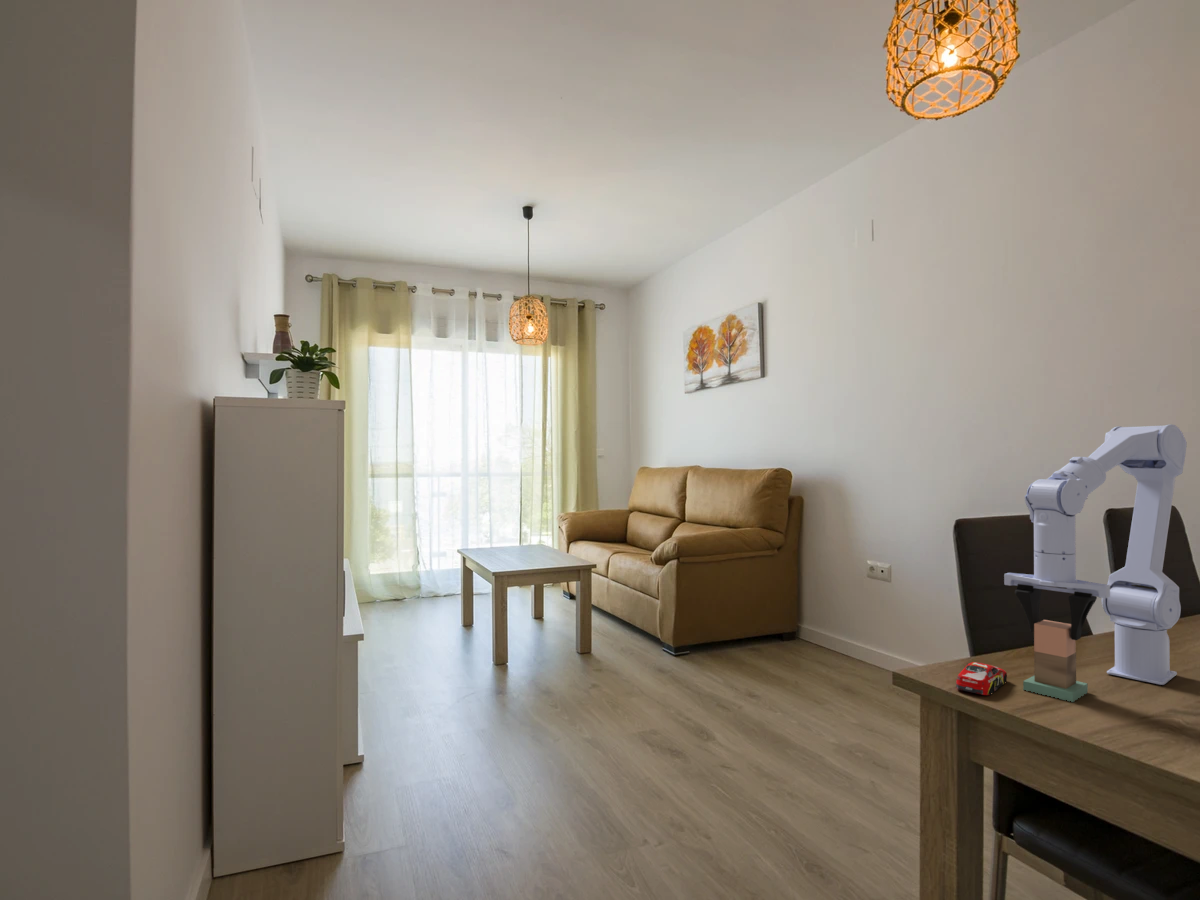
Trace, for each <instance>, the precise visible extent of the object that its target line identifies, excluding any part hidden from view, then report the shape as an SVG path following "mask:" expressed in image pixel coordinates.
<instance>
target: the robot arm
mask: <svg viewBox="0 0 1200 900" xmlns="http://www.w3.org/2000/svg"><path fill="white" fill-rule="evenodd" d="M1187 445H1188V443H1187V440H1186V438H1185V436H1184V433H1183V432H1182V430H1181V429H1180V427H1178V426H1177V425H1176V424H1172V423H1170V424H1166V425H1148V426H1147V425H1145V426H1143V425H1142V426H1119V425H1117V426H1115V427H1112V428H1111V429H1110V430H1109V431H1106V432H1105V435H1104V442H1103V443H1102V444H1101V445H1100V446H1098V447H1097V448H1096V449H1095V450H1093V452H1092V453H1091V454H1089V456H1072V457H1071V458H1070V459H1069V460H1068V461H1069V462H1068V463H1067V464H1065V465H1063V466H1062V467H1060V469H1058V470H1055V471H1054V472H1053V473H1052V474H1051V475H1050V476H1048V478H1045V479H1044V478H1043V479H1042V478H1039V479H1036V480H1035V481H1034V482H1031V483H1030V484H1029V486H1028V488H1027V490H1026V495H1024V502H1025V506H1026V508H1027V509H1028V510H1029V520H1031V521H1030V522H1031V523H1033V574H1030V573H1029V574H1026V573H1017V572H1007V573H1004V575H1003V577H1004V578H1003V579H1004V580H1003V582H1004V584H1003V585H1005V586H1009V587H1010V586H1016V589H1015V590H1014V594H1015V596H1016V598H1017V600H1018V601H1019V603H1020V604H1021V606H1022V609H1023V611H1024V614H1025V616H1026V619H1027V622H1028V626H1029V631H1030V633H1033V634H1034V624H1035V623H1037V622H1040V621H1041V619H1040V618H1041V616H1040V615H1041V614H1040V608H1041V607H1040V605H1041V596H1042V590H1045V591H1046V590H1047V591H1053V592H1061V593H1069V594H1072V595H1069V596H1068V603H1069V609H1070V617H1071V619H1070V620H1071V621H1070V624H1071V639H1072V640H1076V641H1078V640H1081V638H1082V631H1083V628H1084V624H1085V622H1086V619H1087V617H1088V615H1089V613H1090V611H1091V609H1092V607H1094V604H1095V602H1096V600H1097V599H1099V598H1101V606H1102V609H1103V611H1104V613H1105V614H1106V616H1108V617H1109V621H1110V622H1112V623H1114V666H1113V667H1111V668H1110V669H1108V670H1106V673H1107V674H1108V675H1113V676H1116V677H1121V678H1125V679H1131V680H1135V681H1140V682H1146V683H1151V684H1154V685H1155V684H1156V685H1159V686H1161V685H1162V686H1164V685H1166V684H1167V683H1168V682H1169V681H1170V680H1172V679H1173V678H1174V677H1175V676H1176V675H1178V673H1177V671H1174V670H1171V669H1170V663H1171V662H1170V660H1171V659H1170V637H1169V635H1168V630H1169V629H1172V627H1173V626H1175V625H1176V624H1177V622H1178V621H1179V619H1180V617H1181V609H1182V606H1181V602H1180V587H1179V585H1177V584H1176V582H1174V580H1172V579H1171V578H1169V576H1167V575H1166V574H1165V573H1164V572H1163V569H1164V568H1163V567H1164V561H1165V555H1166V553H1165V552H1166V548H1167V539H1168V532H1169V526H1170V518H1171V511H1172V505H1173V500H1174V491H1175V484H1176V477H1179V476H1180V475H1182V474H1183V471H1184V466H1185V461H1186V452H1187V447H1188V446H1187ZM1117 466H1118V467H1120V468H1121V470H1122V471H1124V473H1126V474H1128V475H1130V476H1132V477H1134V478H1135V480H1136V481H1137V484H1136V492H1135V497H1134V505H1133V511H1132V520H1131V525H1130V532H1129V538H1128V539H1129V540H1128V544H1127V545H1128V547H1127V550H1126V551H1127V552H1126V559H1125V565H1124V567H1123V566H1122V568H1120V569H1118V570H1116V571H1113V572H1112V573H1110V574H1109V575H1108V580H1107V584H1105V583H1099V582H1093V581H1087V580H1081V579H1077V571H1076V570H1077V565H1076V564H1077V562H1076V561H1077V558H1076V557H1077V552H1076V551H1077V550H1076V549H1077V548H1076V547H1077V546H1076V545H1077V542H1076V539H1077V538H1076V536H1077V535H1076V534H1077V533H1076V515H1077V514H1080V513H1081V512H1082V511H1083V509H1084V506H1085V502H1086V500H1088V497H1089V495H1090V494H1092V493H1093V492H1094V491H1096V490H1097V489H1098V488H1099V487H1101V486H1102V485H1103V484H1104V483H1105V481H1106V479H1107V472H1109V471H1111V470H1112V469H1114V468H1115V467H1117ZM1139 586H1144V587H1139ZM1146 587H1149V588H1146ZM1153 588H1154V589H1153ZM1073 594H1074V595H1073Z"/></svg>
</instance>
